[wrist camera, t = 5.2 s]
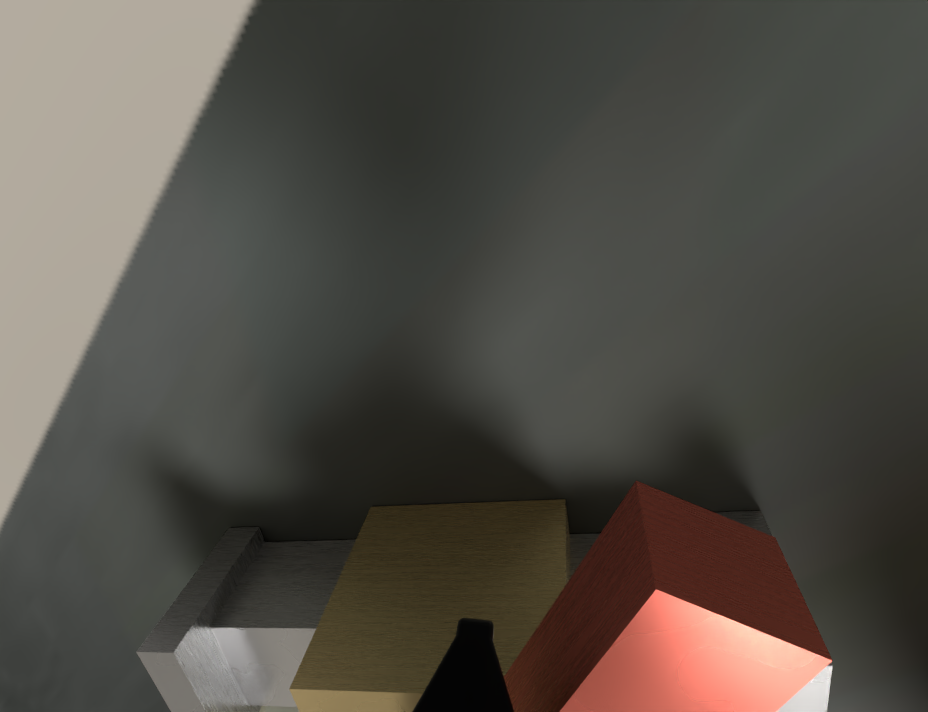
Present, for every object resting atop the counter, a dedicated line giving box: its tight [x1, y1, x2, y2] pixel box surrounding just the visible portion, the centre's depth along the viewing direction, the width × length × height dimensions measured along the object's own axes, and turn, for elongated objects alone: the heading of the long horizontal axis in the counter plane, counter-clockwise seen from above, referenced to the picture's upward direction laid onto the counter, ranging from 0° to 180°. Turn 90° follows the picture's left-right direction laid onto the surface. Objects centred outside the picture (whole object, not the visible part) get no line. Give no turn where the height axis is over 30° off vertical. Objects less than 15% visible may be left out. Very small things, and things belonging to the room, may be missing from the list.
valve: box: [137, 499, 832, 712], centre depth 16 cm, size 18×6×8 cm, turn 100°
